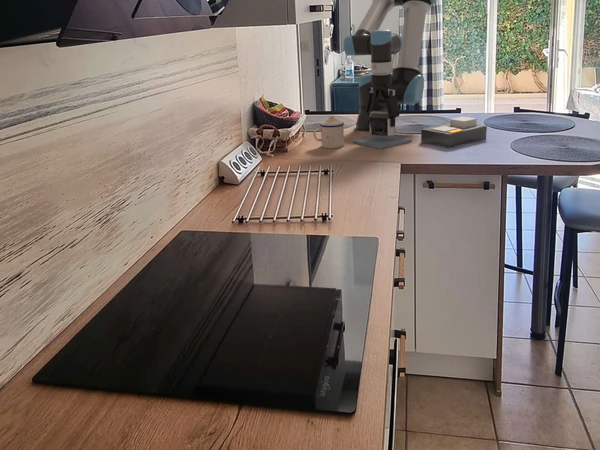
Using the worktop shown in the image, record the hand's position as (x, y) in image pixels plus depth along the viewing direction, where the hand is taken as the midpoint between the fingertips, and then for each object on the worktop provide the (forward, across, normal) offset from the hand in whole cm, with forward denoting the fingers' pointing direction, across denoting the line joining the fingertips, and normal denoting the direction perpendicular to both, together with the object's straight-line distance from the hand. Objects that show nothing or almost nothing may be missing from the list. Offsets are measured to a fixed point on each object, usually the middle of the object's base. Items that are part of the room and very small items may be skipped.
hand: (381, 133), depth 222 cm
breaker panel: (+4, +18, +20) cm, 27 cm away
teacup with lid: (+4, -10, -18) cm, 21 cm away
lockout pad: (+4, 0, 0) cm, 4 cm away
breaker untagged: (-1, +18, +25) cm, 31 cm away
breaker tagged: (+1, +18, +15) cm, 24 cm away
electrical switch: (+1, 0, 0) cm, 1 cm away
